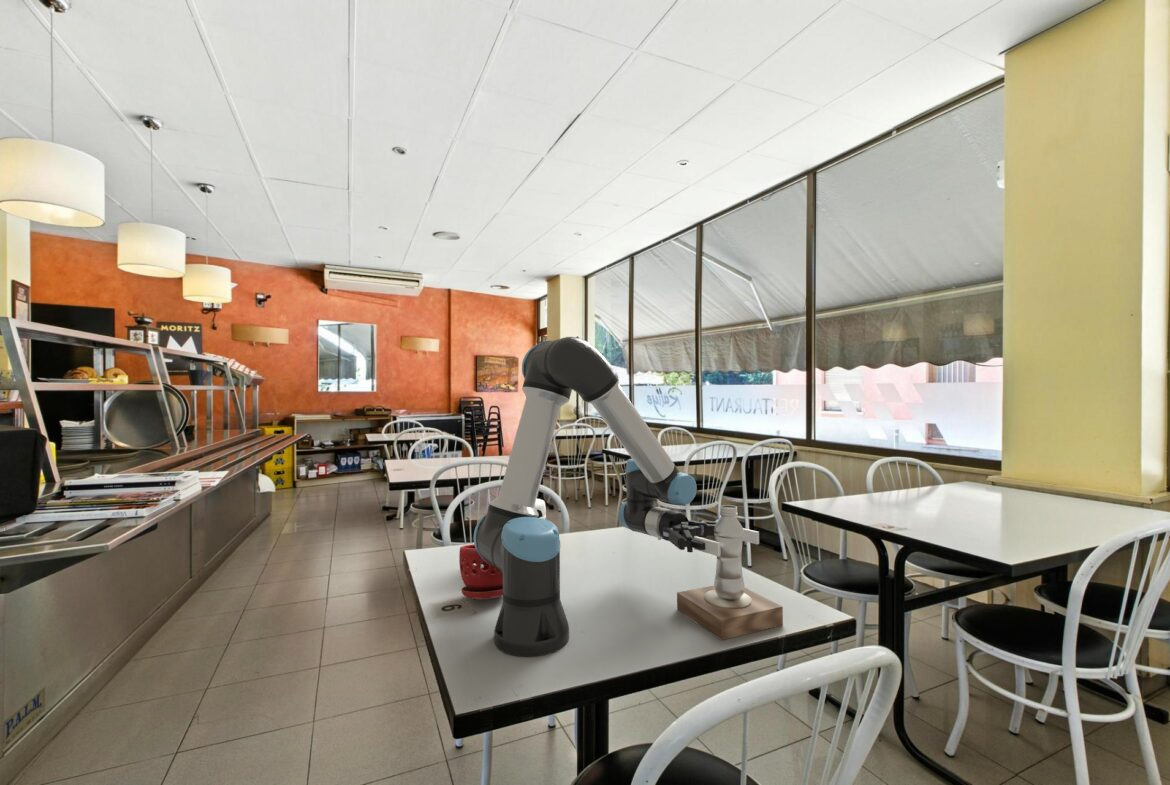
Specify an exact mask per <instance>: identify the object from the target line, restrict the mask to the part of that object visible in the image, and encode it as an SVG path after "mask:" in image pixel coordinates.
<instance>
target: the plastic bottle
mask: <svg viewBox="0 0 1170 785" xmlns="http://www.w3.org/2000/svg"><path fill="white" fill-rule="evenodd" d="M719 509H720V510H719V515H720V517H719V519H718V520H717V521H716V522H717V523H716V525H715V527H714V536H713V537H714V541H716V542H720V556H716V564H715V565H716V567H715V575H714V576H715V577H714V581H713V582H714V583H713V586H714V588H715V592H716V594H717V595H718V596H719V597H721V598H724V599H739V598H741V597H742V595H743V594H744V588H746V587H745V581H744V577H743V567H742V552H743V542H744V541H743V535H744V531H743V528H744V527H743V525H742V524H741V521H739V519H738V518H737V516H738V514H739V513H738V506H736V505H732V504H722V505H720V508H719Z"/></svg>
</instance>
